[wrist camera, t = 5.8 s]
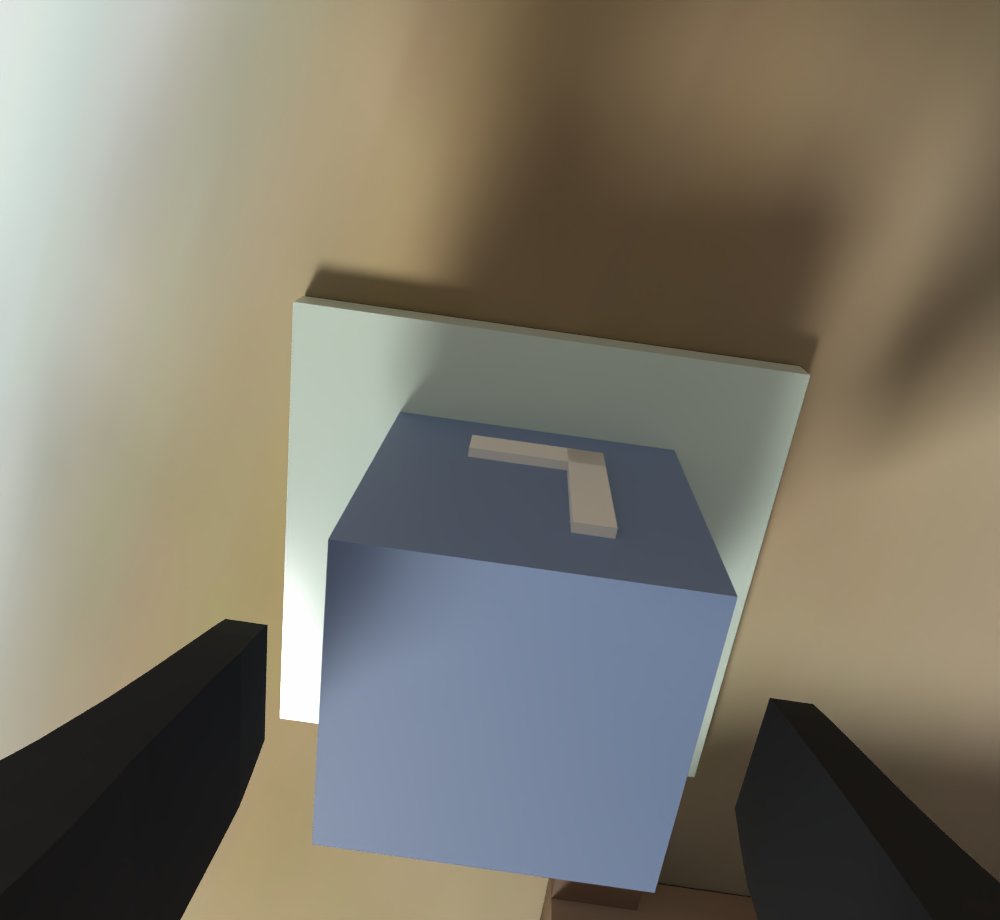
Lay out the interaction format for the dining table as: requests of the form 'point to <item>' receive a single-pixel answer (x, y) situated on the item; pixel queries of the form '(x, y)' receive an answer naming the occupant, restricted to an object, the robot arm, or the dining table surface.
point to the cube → (516, 653)
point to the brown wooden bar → (640, 903)
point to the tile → (518, 404)
